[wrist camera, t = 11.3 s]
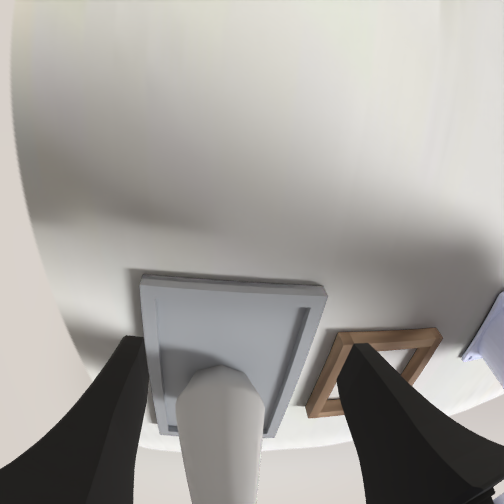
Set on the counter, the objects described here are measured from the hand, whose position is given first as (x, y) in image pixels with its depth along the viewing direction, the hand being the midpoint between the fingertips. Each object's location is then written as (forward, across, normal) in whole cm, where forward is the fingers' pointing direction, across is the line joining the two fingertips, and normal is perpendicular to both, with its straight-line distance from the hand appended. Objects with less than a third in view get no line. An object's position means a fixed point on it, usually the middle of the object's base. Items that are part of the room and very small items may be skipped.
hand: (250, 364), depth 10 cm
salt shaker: (+7, 0, +10) cm, 12 cm away
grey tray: (+7, 0, +9) cm, 12 cm away
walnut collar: (+7, -12, +9) cm, 16 cm away
